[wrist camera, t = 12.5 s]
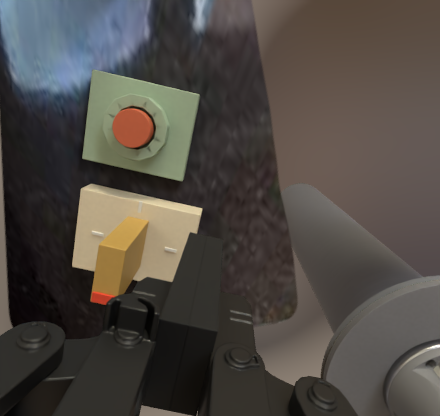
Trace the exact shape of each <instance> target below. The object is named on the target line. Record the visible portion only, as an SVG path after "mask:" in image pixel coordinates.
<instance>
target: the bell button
mask: <svg viewBox="0 0 440 416" xmlns="http://www.w3.org/2000/svg"><path fill="white" fill-rule="evenodd" d="M112 129H113V133H114V136H115V138H116V139H117V141H118V142H119V143H121V144H122V145H124V146H126V147H130V148H136V147H140V146H143V145H145V144H146V143H148V142H149V141H150V139H151V138H152V135H153V131H154V127H153V122H152V120H151V118H150V117H149V116H148V115H147V114H146V113H145V112H143V111H141V110H139V109H124V110H122V111H120V112H119V113H118V114H117V115H116V116H115V118H114V120H113V125H112Z"/></svg>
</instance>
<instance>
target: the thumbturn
mask: <svg viewBox="0 0 440 416" xmlns="http://www.w3.org/2000/svg"><path fill="white" fill-rule="evenodd" d="M148 223H149V221H147V220H143V219H138V218H134V217H130V216H128V217H127V218H126V219H125V220H124V221H123V222H122V223H120V224H119V225H118V226H117V227H116V228H115V229H114V230H113V231H112V232H111V233H110V234H109V235H108V236H107V237H106V238H105V239H104V240H103V241H102V242H101V243H100V244H99V247H98V254H97V260H96V267H95V274H94V280H93V287H92V294H91V300H90V301H91V302H95V303H99V304H104V305H106V303H107V302H108V301H109V300H110V299H111V298H113V297H115V296H118V295H121V294H124V293H125V291H126V289H127V288H128V286H129V284H130V283H131V281H132V279H133V278H134V276H135V274H136V273H137V271H138V269H139V268H140V265H141V260H142V255H143V250H144V244H145V239H146V234H147V228H148Z"/></svg>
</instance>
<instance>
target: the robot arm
mask: <svg viewBox="0 0 440 416" xmlns="http://www.w3.org/2000/svg"><path fill="white" fill-rule="evenodd" d="M222 252H223V239H219V238H214V237H210V236H205V235H201V234H196V233H192V232H190V233H189V236H188V239H187V242H186V245H185V247H184V250H183V253H182V256H181V259H180V262H179V264H178V267H177V270H176V273H175V276H174V279H173V281H172V282H169V281H165V280H160V279H155V278H151V277H146V278H144V279H142V280H141V281H139V282H137V284H136V286H135V288H134V289H133V292H132V293H131V294H121V295H118V296H115V297H113V298H111V299H110V300H109V301H108V302H107V303H106V309H105V315H104V322H103V328H102V332H101V334H100V335H99V336H97V337H93V338H87V339H65V333H64V331H63V330H62V328H60V327H59V326H57V325H56V324H53V323H48V322H29V323H25V324H21V325H18V326H16V327H14V328H12V329H10V330H8V331H7V332H5V333H4V334H2V335H1V336H0V416H139V414H140V409H141V405H144V406H149V407H153V408H158V409H163V410H168V411H173V412H178V413H182V414H187V415H192V416H196V415H197V411H198V416H358V415H357V413H356V412H355V410H354V409H353V407H352V406H351V404H350V403H349V401H348V400H347V398H346V397H345V396H344V395H343V394H342V392H341V391H340V390H339V389H338V388H336V387H335V386H333V385H332V384H331V383H329V382H327V381H325V380H323V379H321V378H317V377H311V376H308V377H302V378H300V379H299V380H298V381H296V383H295V386H293V385H291V384H289V383H286V382H284V381H282V380H280V379H278V378H276V377H275V376H273V375H271V374H270V373H269V372H268V371H266V370H265V365H264V363H263V360H262V358H261V357H260V355H258V353H257V352H256V349H255V339H254V330H253V321H252V312H251V305H250V304H249V302H248V301H247V300H246V298H245V297H244V296H239V295H234V294H230V293H225V292H220V287H221V269H222ZM383 397H384V401H385V404H386V406H387V408H388V410H389V412H390V413H391V415H392V416H440V339H437V340H432V341H428V342H425V343H422V344H419V345H417V346H415V347H413V348H411V349H410V350H408V351H407V352H405V353H404V354H403V355H401V356H400V357H399V358H398V359H397V360H396V361H395V362H394V364H393V365H392V366H391V368H390V369H389V371H388V373H387V375H386V377H385V380H384V385H383ZM142 402H143V403H142Z"/></svg>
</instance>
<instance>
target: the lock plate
mask: <svg viewBox="0 0 440 416" xmlns="http://www.w3.org/2000/svg"><path fill="white" fill-rule="evenodd" d="M201 214H202V208H198V207H193V206H189V205H184V204H180V203H176V202H171V201H167V200H162V199H158V198H153V197H149V196H144V195H140V194H136V193H131V192H127V191H122V190H118V189H113V188H109V187H104V186H100V185H95V184H90V185H88V186H85V187H83V188H81V193H80V202H79V211H78V219H77V228H76V236H75V245H74V253H73V262H72V267H76V268H81V269H86V270H90V271H95V267H96V260H97V254H98V247H99V244H100V243H101V242H102V241H103V240H104V239H105V238H106V237H107V236H108V235H109V234H110V233H111V232H112V231H113V230H114V229H115V228H116V227H117V226H118V225H119V224H120V223H122V222H123V221H124V220H125V219H126V218H127V217H128V216H130V217H134V218H138V219H143V220H147V221H149V223H148V228H147V234H146V239H145V244H144V250H143V255H142V260H141V265H140V268H139V269H138V271H137V273H136V274H135V276H134V278H133V279H132V280H136V281H141V280H142V279H144V278H146V277H151V278H155V279H160V280H165V281H169V282H172V281H173V279H174V276H175V273H176V270H177V267H178V264H179V262H180V259H181V256H182V253H183V250H184V247H185V245H186V242H187V239H188V236H189V233H190V232H192V233H196V234H197V232H198V227H199V223H200V218H201Z"/></svg>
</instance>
